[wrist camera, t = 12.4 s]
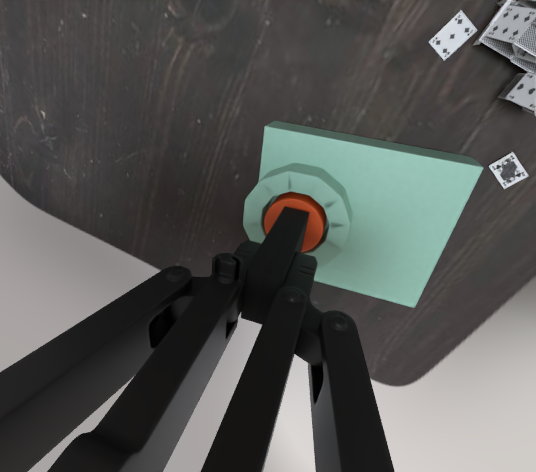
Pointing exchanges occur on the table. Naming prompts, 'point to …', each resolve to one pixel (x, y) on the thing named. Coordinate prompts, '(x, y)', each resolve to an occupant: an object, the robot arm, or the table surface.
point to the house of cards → (511, 46)
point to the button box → (366, 205)
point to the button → (305, 204)
